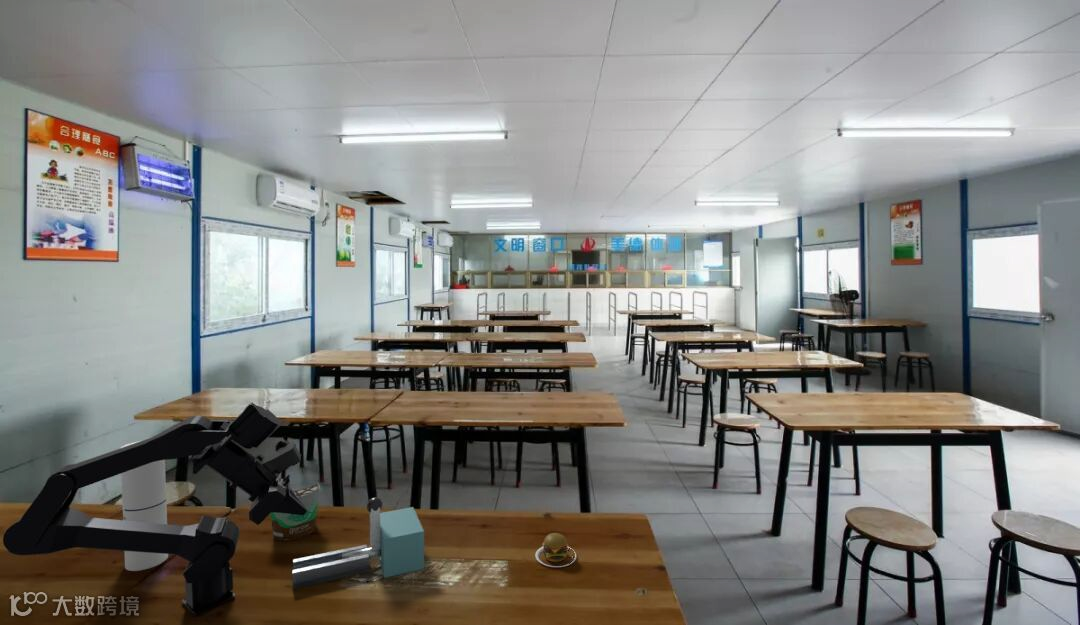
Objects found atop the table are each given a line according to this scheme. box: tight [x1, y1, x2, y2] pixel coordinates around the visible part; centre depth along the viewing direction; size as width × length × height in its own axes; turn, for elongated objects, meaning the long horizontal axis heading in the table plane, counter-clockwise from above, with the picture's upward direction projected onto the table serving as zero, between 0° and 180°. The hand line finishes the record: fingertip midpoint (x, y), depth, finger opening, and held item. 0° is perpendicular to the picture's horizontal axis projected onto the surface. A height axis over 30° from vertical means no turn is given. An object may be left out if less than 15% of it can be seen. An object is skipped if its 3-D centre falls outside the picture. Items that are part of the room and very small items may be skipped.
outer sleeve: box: [292, 544, 370, 590], centre depth 100 cm, size 14×5×3 cm, turn 115°
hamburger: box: [535, 532, 577, 568], centre depth 107 cm, size 12×12×6 cm
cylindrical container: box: [120, 440, 169, 572], centre depth 103 cm, size 7×7×25 cm
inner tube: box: [342, 496, 384, 560], centre depth 103 cm, size 12×3×13 cm, turn 115°
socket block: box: [378, 506, 425, 579], centre depth 105 cm, size 8×12×8 cm, turn 25°
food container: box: [269, 481, 322, 541], centre depth 115 cm, size 12×6×10 cm, turn 143°
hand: (305, 512), depth 97 cm, fingers closed
